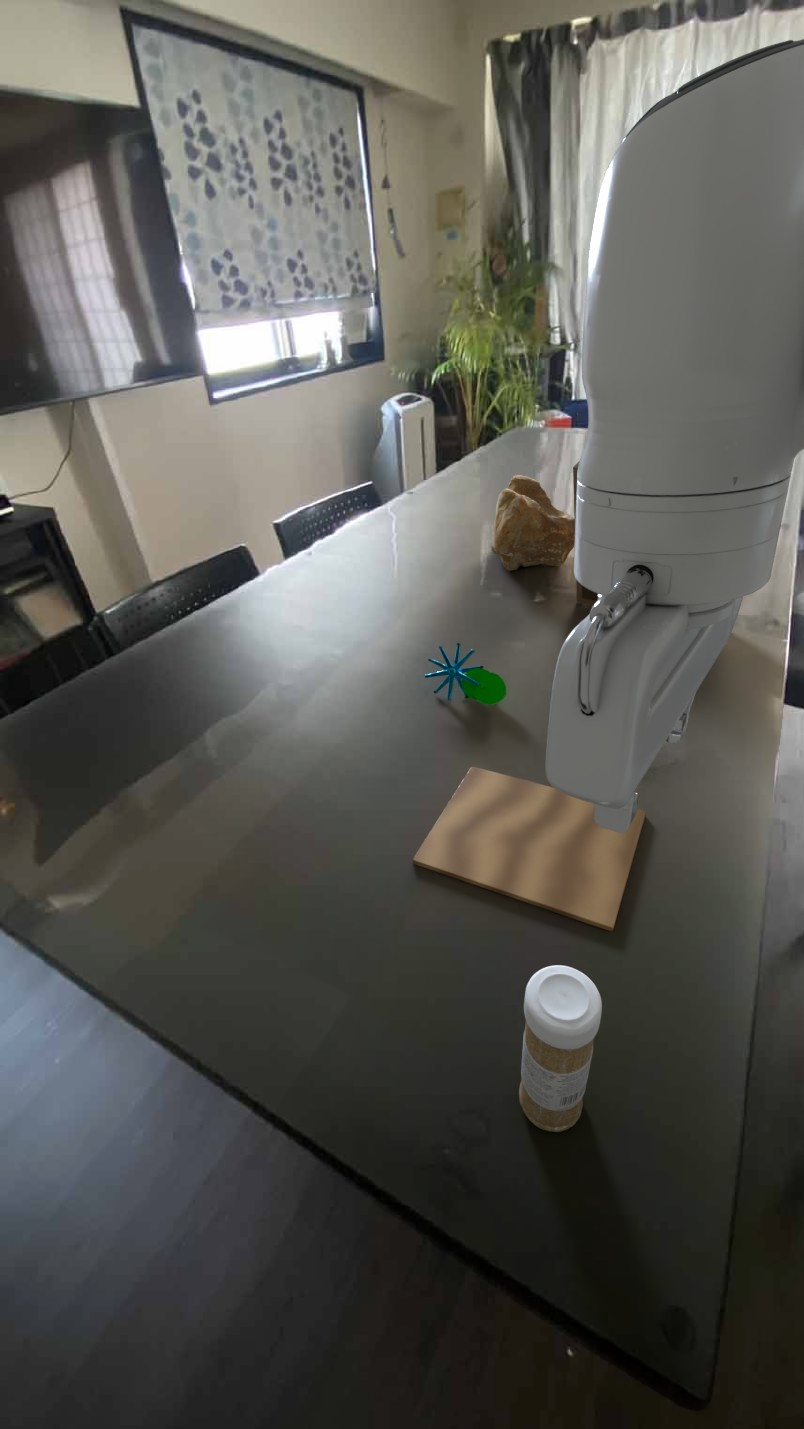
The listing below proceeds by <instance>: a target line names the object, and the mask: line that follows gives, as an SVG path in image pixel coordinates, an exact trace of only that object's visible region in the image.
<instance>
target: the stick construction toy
mask: <svg viewBox="0 0 804 1429" xmlns="http://www.w3.org/2000/svg"><path fill="white" fill-rule="evenodd" d="M438 649H439V652H440V654H441V656H442V658H443V660H444V663H445V664H444V663H442V662H440V661H437V660H435V659H432V658H428V659H427V661H428V662H430V663H432V664H434V665H435V666H437V667H439V668H441V669H442V670H441V671H437V672H433V673H429V674H428V673H427V674H425V675H424V676H423V678H425V679H430V678H438V677H445V679H444V680H443V681H442V682H441V683H440V684H439V685H438V687H436V689H435V690H433V694H438V693H439V692H440V691H441V690H442V689H443V688H444V687H445V686H446V685H447V684H448V686H447V697H446V701H448V702H451V701H452V699H451V698H452V693H453V687H454V683H455V681H456V683H457V684H458V686H459V688H460V689H461V691H462V693H463V695H464V698H465V699H471V700H473V701H477V702H479V703H481V704H483V705H489V706H490V705H495V704H498V703H500V702H501V701H502V700H504V698H506V696H507V686H506V683H505V681H504V679H503V678H502V677H501V675H499V674H497V673H496V672H491V671H489V670H487V669H485V667H484V665H477V666H470V667H463V665H465V663H466V661H468V659H469V658H470V657H471V656H472V655H473V654H475V651H476V650H474V649H470V650H469V652H467V654H466V655H464V656H463V657H462V658H461V659H460V655H461V643H460V642H457V643H456V649H455V655H454V660H453V663H452V661H451V660H450V658H449V657H448V655H447V653H446V652H445V649H444V647H443V646H442V645H438ZM462 667H463V668H462Z"/></svg>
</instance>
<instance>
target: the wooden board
mask: <svg viewBox="0 0 804 1429" xmlns="http://www.w3.org/2000/svg"><path fill="white" fill-rule="evenodd" d="M594 808H595V804H594V803H590V802H587V801H583V800H580V799H577V798H574V797H571V796H568V795H566V794H563V793H560V792H558V791H557V790H555V789H554V788H553V787H552V786H549V785H545V784H541V783H538V782H533V781H529V780H526V779H522V778H519V777H514V776H511V775H507V774H503V773H499V772H494V771H492V770H488V769H484V768H480V767H476V766H471V767H470V768H469V770H468V771H467V773H466V774H465V776H464V777H463V779H462V781H461V782H460V784H459V785H458V787H457V789H456V790H455V792H454V793H453V795H452V796H451V798H450V799H449V801H448V802H447V804H446V806H445V807H444V809H443V811H442V813H441V814H440V816H439V817H438V819H437V820H436V821H435V824H433V826H432V828H431V830H430V831H429V833H428V834H427V836H426V838H425V839H424V841H423V842H422V844H421V846H420V847H419V849H418V851H417V852H416V854H414V856H413V858H412V864H413V865H416V866H418V867H421V868H424V869H427V870H430V871H433V872H436V873H439V874H442V875H444V876H448V877H450V878H454V879H457V880H459V881H462V882H465V883H468V884H471V885H474V886H477V887H480V888H483V889H485V890H489V891H492V892H495V893H497V894H500V895H503V896H506V897H509V898H512V899H515V900H518V901H521V902H523V903H527V904H529V905H532V906H535V907H539V908H541V909H544V910H547V911H550V912H553V913H555V914H559V915H562V916H564V917H567V918H570V919H573V920H576V921H579V922H582V923H585V924H587V925H591V926H594V927H597V928H599V929H603V930H606V931H609V932H611V933H613V932H614V929H615V925H616V921H617V918H618V914H619V911H620V908H621V905H622V900H623V897H624V894H625V890H626V886H627V882H628V879H629V876H630V872H631V869H632V865H633V862H634V858H635V854H636V851H637V848H638V844H639V841H640V836H641V833H642V829H643V826H644V822H645V820H646V815H647V812H646V811H644V810H640V809H637V813H636V816H635V817H634V819H633V821H632V823H631V825H630V826H629V828H628V829H627V831H626V832H624V833H618V832H615V831H612V830H609V829H606V828H603V827H600V826H599V825H598V824H597V823H596V822H595V820H594Z"/></svg>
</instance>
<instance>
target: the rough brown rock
mask: <svg viewBox="0 0 804 1429" xmlns="http://www.w3.org/2000/svg"><path fill="white" fill-rule="evenodd" d="M552 502H553V501H552V500H551V497H549V495H547V493H546V491H545V489H543V487H542V486H541V483H540V481H537V480H536V479H534V478H532V477H530V476H526V475H521V474H515V475H513V476H512V477H511V479H510V481H509V483H508V485H507V487H506V488H504V489H502V491H501V492H500V493H499V495H498V497H497V500H496V506H495V515H494V516H495V517H494V522H493V530H492V531H493V533H492V543H491V553H492V554H493V555H496V556H498V557H499V558H500V562H501V564H502V566H503V568H505V569H506V571H509V572H511V571H516V570H518V569H519V567H521V566H522V567H524V568H526V567H532V566H533V567H534V566H538V565H548V566H550V567H551V566H552V567H561V565H563V564H564V563H565V562H566V560H567V559H568V556H569V555H570V552H571V551H572V550H574V544H575V519H574V517H573V516H572V515H571V514H569V513H568V512H566V511H565V510H559V509H558V508H557V507H556V506H554V503H552Z"/></svg>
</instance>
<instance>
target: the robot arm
mask: <svg viewBox="0 0 804 1429" xmlns="http://www.w3.org/2000/svg"><path fill="white" fill-rule="evenodd" d="M589 249H590V250H589V257H588V264H587V265H588V266H587V273H586V274H587V275H586V284H585V286H586V287H585V295H584V296H585V297H584V312H583V324H582V325H583V326H582V327H583V328H582V329H583V331H582V345H581V379H582V385H583V389H584V393H585V398H586V402H587V404H586V405H587V411H588V412H587V413H588V421H587V422H588V424H587V433H586V439H585V441H584V442H585V443H584V445H583V446H584V447H583V450H582V452H581V456H580V459H579V461H580V462H579V461H578V462H579V466H578V472H577V495H576V520H575V544H574V548H573V568H572V569H573V576H574V578H575V581H576V580H577V581H578V582H579V583H580V584H581V585H582V586H584V587H585V588H587V589H589V590H591V591H593V592H595V593H598V600H597V601H596V602H595V604H594V605H593V606H591V609H590V611H589V614H588V615H587V616H586V617H585V618H583V619H582V620H581V621H580V622H579V623H578V624H577V625H576V626H575V627H574V628H573V629H572V630H571V631H570V632H569V633H568V635H567V637H566V639H565V640H564V641H563V643H562V646H561V648H560V651H559V655H558V657H557V662H556V665H555V669H554V675H553V679H552V680H553V682H552V688H551V697H550V706H549V715H548V723H547V724H548V726H547V736H546V748H545V749H546V750H545V764H544V766H545V776H546V779H547V781H548V783H549V784H550V786H551V787H553V788H554V789H555V790H557V791H558V792H560V793H563V794H566V795H568V796H571V797H574V798H577V799H580V800H583V801H587V802H590V803H594V804H595V808H594V820H595V822H596V823H597V824H598V825H599V826H600V827H603V828H606V829H609V830H612V831H615V832H618V833H624V832H626V831H627V829H628V828H629V826H630V825H631V823H632V821H633V819H634V817H635V816H636V813H637V810H638V804H639V797H640V796H639V794H640V793H639V792H636V791H637V789H638V787H639V785H640V784H641V783H642V781H643V779H644V777H645V776H646V774H647V773H648V771H649V769H650V768H651V766H652V765H653V762H654V761H655V759H656V757H657V756H658V755H659V753H660V751H661V750H662V748H663V746H664V745H665V743H669V744H673V745H674V744H677V743H679V741H680V740H681V739H682V737H683V736H684V734H685V733H686V731H687V729H688V723H689V717H690V710H691V709H692V706H693V702H694V699H695V696H696V693H697V691H698V690H699V688H700V687H701V685H702V683H703V681H704V680H705V678H706V676H707V675H708V673H709V672H710V670H711V668H712V667H713V665H714V664H715V662H716V661H717V659H718V657H719V655H720V654H721V652H722V651H723V649H724V647H725V646H726V645H727V643H728V641H729V639H730V637H731V635H732V632H733V630H734V627H735V625H736V624H735V623H736V621H737V619H738V616H739V612H740V610H741V606H742V602H743V598H744V597H746V596H749V595H751V594H754V593H756V592H757V591H759V590H760V589H762V588H763V587H765V586H766V585H767V584H768V582H769V581H770V579H771V577H772V571H773V566H774V561H775V556H776V551H777V547H778V542H779V537H780V531H781V527H782V522H783V518H784V512H785V507H786V502H787V496H788V493H789V492H788V491H789V487H790V482H791V477H792V472H793V467H794V462H795V458H796V457H797V456H798V455H799V453H800V452H801V451H803V450H804V38H803V39H799V40H793V39H789V40H784V41H782V42H781V41H780V42H777V43H774V44H770V45H768V46H767V45H766V46H765V47H760V48H758V49H756V50H753V51H751V52H747V53H745V54H743V55H741V56H738V57H735V58H734V59H731V60H729V61H726V62H724V63H722V64H719V65H718V66H716V67H714V68H712V69H710V70H708V71H706V72H704V73H702V74H700V75H698V76H696V77H694V78H692V79H691V80H689V81H687V82H685V83H683V84H682V85H680V87H678V89H677V90H676V91H674V92H672V93H670V94H669V95H667V96H665V97H663V98H662V99H660V100H659V101H657V102H656V103H655V104H653V106H652V107H650V108H649V109H648V110H647V111H646V112H645V113H644V114H643V115H642V116H641V117H640V118H639V120H638V121H637V122H636V123H635V124H634V125H633V126H632V127H631V129H630V130H629V131H628V132H627V134H626V135H625V137H624V138H623V140H622V141H621V144H620V145H619V147H618V148H617V149H616V150H615V152H614V153H613V156H612V157H611V160H610V161H609V164H608V167H607V168H606V172H605V175H604V178H603V181H602V183H601V187H600V191H599V195H598V200H597V205H596V209H595V214H594V220H593V227H592V233H591V240H590V247H589Z"/></svg>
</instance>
